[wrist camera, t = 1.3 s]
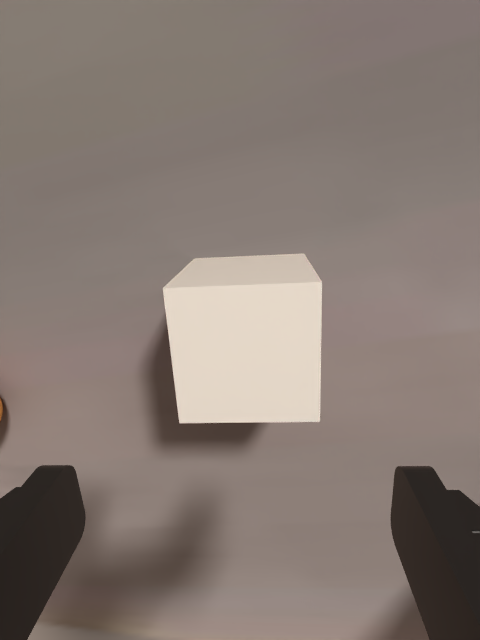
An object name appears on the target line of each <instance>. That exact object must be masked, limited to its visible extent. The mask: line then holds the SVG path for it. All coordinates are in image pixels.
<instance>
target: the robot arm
mask: <svg viewBox="0 0 480 640" xmlns="http://www.w3.org/2000/svg"><path fill="white" fill-rule="evenodd" d="M84 526H85V509H84V505H83V501H82V496H81V492H80V488H79V483H78V479H77V475H76V471H75V469H74V467H73V466H70V465H43V466H40V467H38V468H37V469H36V470H35V471H34V472H33V473H32V474H31V476H30V477H29V478H28V479H27V480H26V482H25V483H24V484H23V485H22V486H21V487H16V488H14V489H13V490H12V491H10V492H9V493H7V494H6V495H5V496H3V497H2V498H1V499H0V640H27V639H28V637H29V635H30V633H31V631H32V629H33V628H34V626H35V624H36V622H37V620H38V618H39V616H40V614H41V613H42V611H43V609H44V607H45V605H46V603H47V601H48V599H49V598H50V596H51V594H52V592H53V590H54V588H55V586H56V584H57V583H58V581H59V579H60V577H61V575H62V573H63V571H64V569H65V568H66V566H67V564H68V562H69V560H70V558H71V556H72V554H73V553H74V551H75V549H76V547H77V545H78V543H79V541H80V539H81V537H82V534H83V531H84ZM391 529H392V535H393V539H394V543H395V546H396V549H397V552H398V555H399V557H400V560H401V563H402V565H403V568H404V571H405V574H406V576H407V579H408V582H409V584H410V587H411V590H412V593H413V595H414V598H415V601H416V603H417V606H418V609H419V612H420V614H421V617H422V620H423V622H424V625H425V628H426V631H427V633H428V636H429V639H430V640H480V507H479V506H478V505H477V504H475V503H474V502H473V501H472V500H471V499H469V498H468V497H467V496H466V495H465V494H463V493H462V492H461V491H460V490H446V488H445V486H444V485H443V483H442V482H441V480H440V478H439V477H438V475H437V473H436V472H435V470H434V469H433V468H432V467H430V466H398V467H397V468H396V470H395V475H394V486H393V497H392V507H391Z"/></svg>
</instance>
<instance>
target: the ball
mask: <svg viewBox="0 0 480 640" xmlns="http://www.w3.org/2000/svg"><path fill="white" fill-rule="evenodd" d="M2 412H3V407H2V401H1V398H0V421H1V417H2Z"/></svg>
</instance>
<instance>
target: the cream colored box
mask: <svg viewBox="0 0 480 640" xmlns="http://www.w3.org/2000/svg"><path fill="white" fill-rule="evenodd" d="M163 293H164V301H165V310H166V318H167V326H168V334H169V342H170V351H171V359H172V367H173V375H174V383H175V392H176V400H177V408H178V416H179V423H249V422H320V381H321V314H322V281H321V280H320V278H319V277H318V275H317V273H316V272H315V270H314V269H313V267H312V266H311V264H310V262H309V261H308V259H307V258H306V256H305V255H304V254H282V255H259V256H237V257H215V258H194V259H193V260H192V261H191V262H190V263H189V264H188V265H187V266H186V267H185V268H184V269H183V270H182V271H181V272H180V273H178V274H177V275H176V276H175V277H174V278H173V279H172V280H171V281H170V282H169V283H168V284H167V285H166V286H165V287H164V288H163Z"/></svg>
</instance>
